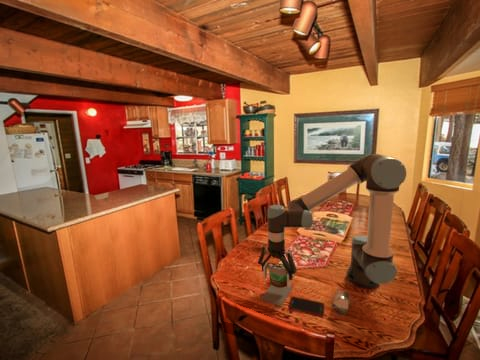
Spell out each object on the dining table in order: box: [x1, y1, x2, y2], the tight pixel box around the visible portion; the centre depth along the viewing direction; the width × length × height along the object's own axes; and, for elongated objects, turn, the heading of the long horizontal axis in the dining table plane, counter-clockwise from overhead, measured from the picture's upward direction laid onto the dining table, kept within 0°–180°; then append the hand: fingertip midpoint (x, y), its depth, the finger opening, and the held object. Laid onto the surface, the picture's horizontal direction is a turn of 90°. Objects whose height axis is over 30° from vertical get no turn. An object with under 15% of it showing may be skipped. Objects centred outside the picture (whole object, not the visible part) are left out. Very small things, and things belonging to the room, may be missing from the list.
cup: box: [278, 258, 296, 280], centre depth 126 cm, size 7×7×8 cm
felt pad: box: [260, 283, 294, 308], centre depth 114 cm, size 10×15×1 cm, turn 148°
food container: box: [266, 260, 288, 288], centre depth 111 cm, size 12×6×10 cm, turn 68°
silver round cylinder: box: [331, 290, 351, 316], centre depth 102 cm, size 8×6×6 cm
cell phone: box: [288, 296, 325, 318], centre depth 104 cm, size 8×15×1 cm, turn 68°
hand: (276, 281), depth 112 cm, fingers closed on food container, 11 cm apart
